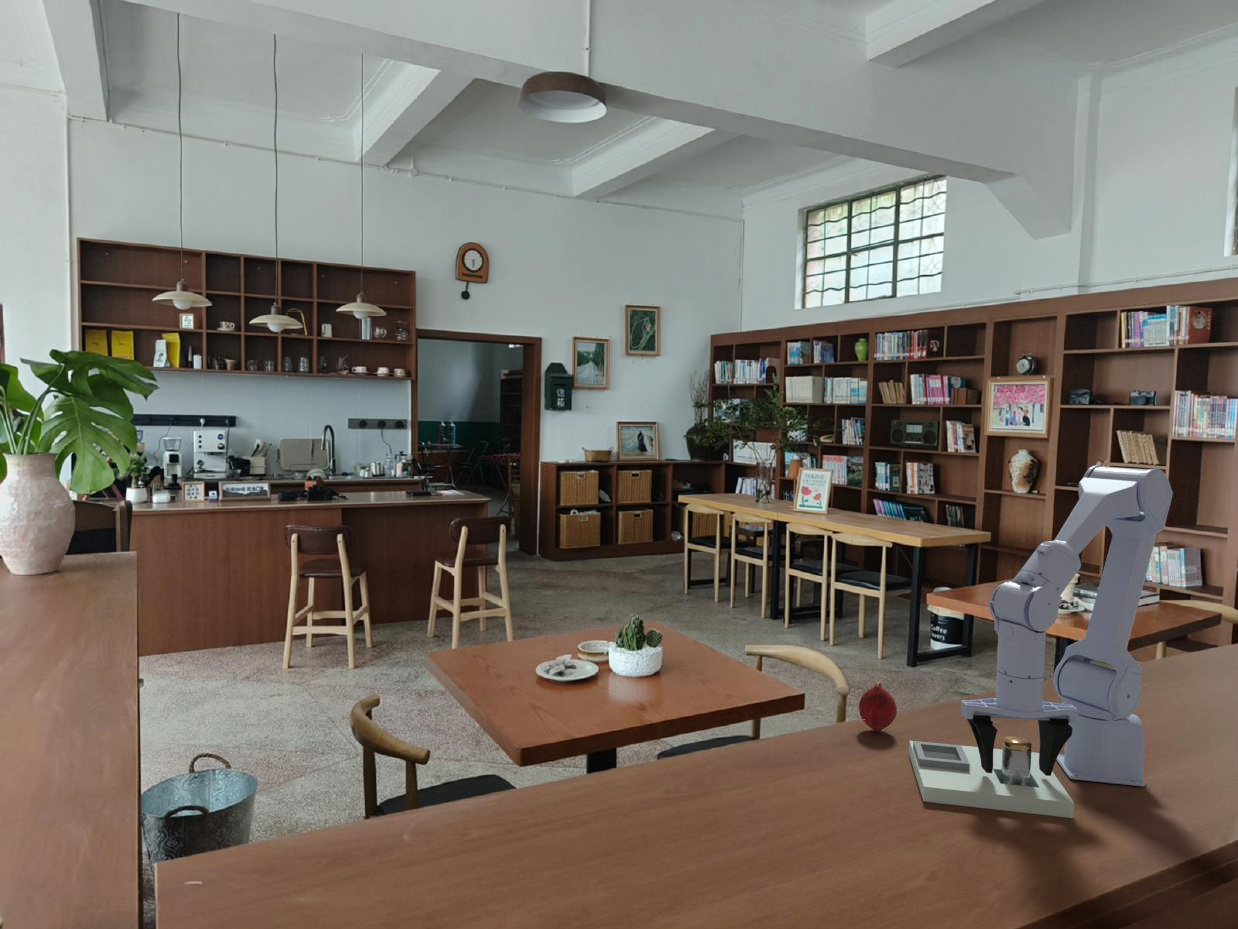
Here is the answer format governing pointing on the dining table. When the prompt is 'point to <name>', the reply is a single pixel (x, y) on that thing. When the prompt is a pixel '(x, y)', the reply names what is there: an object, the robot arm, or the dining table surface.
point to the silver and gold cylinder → (1016, 761)
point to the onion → (877, 708)
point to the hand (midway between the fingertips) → (1015, 771)
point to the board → (983, 781)
